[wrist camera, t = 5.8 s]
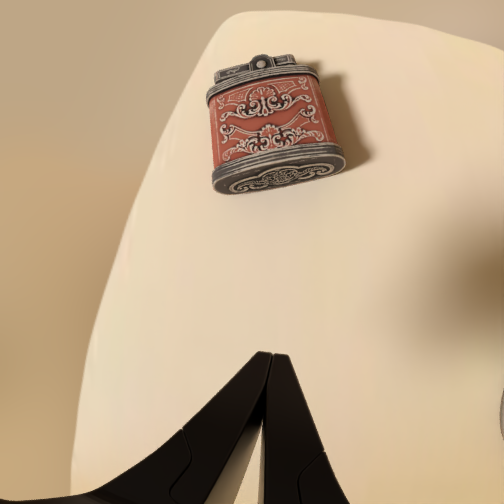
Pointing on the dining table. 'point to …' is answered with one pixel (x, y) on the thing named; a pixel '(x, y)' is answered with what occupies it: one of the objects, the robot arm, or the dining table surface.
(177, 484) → the robot arm
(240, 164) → the lighter
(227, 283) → the dining table surface
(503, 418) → the grey smooth stone
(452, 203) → the dining table surface
